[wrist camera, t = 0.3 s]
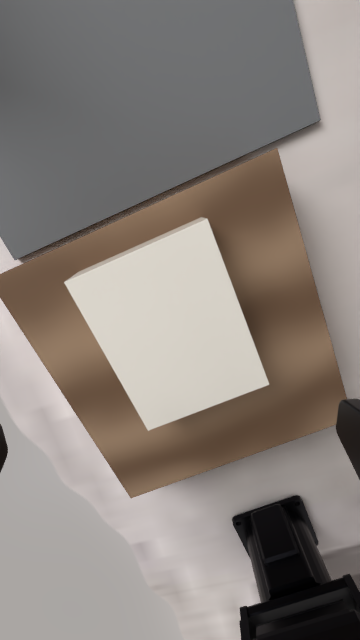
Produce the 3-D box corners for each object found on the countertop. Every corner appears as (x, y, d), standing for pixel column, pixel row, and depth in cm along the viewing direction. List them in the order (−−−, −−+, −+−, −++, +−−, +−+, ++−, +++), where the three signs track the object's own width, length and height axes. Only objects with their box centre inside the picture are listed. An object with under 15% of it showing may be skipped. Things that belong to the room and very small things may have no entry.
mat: (317, 121, 18) (320, 119, 18) (17, 259, 20) (14, 260, 20) (237, -222, 14) (239, -234, 13) (-140, -2, 16) (-148, -7, 15)
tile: (256, 362, 19) (269, 384, 16) (150, 403, 19) (147, 430, 17) (201, 217, 16) (207, 218, 13) (78, 271, 16) (63, 282, 14)
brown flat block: (323, 386, 24) (352, 418, 20) (136, 455, 26) (130, 498, 22) (254, 160, 19) (277, 147, 15) (21, 266, 20) (-12, 279, 16)
